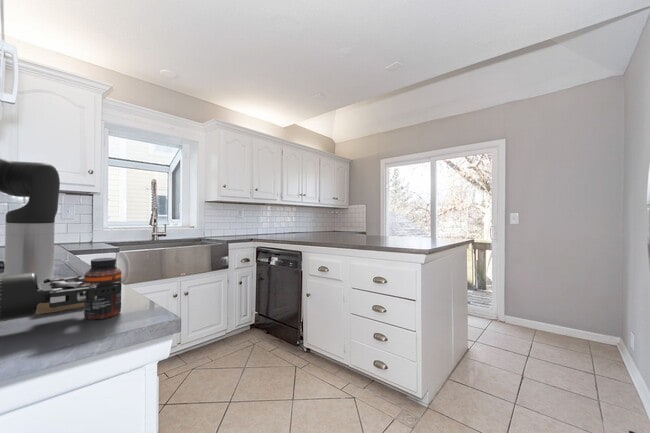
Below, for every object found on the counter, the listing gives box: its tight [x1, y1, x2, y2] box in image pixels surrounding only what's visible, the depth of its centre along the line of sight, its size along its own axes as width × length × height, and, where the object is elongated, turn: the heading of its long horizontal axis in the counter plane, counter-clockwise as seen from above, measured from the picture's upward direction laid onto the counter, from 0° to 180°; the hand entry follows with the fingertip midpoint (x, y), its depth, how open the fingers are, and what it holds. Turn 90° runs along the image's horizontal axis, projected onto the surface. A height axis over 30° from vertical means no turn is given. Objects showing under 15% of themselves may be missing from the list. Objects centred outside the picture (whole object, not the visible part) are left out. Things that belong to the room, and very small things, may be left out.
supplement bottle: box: [83, 257, 122, 320], centre depth 59 cm, size 6×6×11 cm
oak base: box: [36, 303, 84, 315], centre depth 64 cm, size 8×8×3 cm
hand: (115, 283), depth 60 cm, fingers open, 7 cm apart
